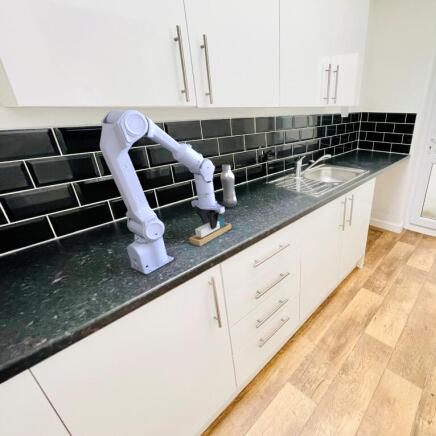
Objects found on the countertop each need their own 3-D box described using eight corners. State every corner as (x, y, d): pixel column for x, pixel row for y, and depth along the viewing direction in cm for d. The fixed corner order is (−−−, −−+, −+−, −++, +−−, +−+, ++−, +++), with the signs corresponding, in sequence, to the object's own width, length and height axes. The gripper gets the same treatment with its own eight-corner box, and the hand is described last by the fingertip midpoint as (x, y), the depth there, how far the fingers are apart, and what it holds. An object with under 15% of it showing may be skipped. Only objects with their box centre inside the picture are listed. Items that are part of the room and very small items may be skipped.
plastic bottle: (225, 209, 120) (219, 167, 112) (222, 205, 126) (217, 164, 117) (238, 207, 122) (234, 166, 114) (236, 203, 128) (231, 163, 120)
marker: (201, 238, 91) (200, 230, 90) (196, 236, 92) (194, 228, 91) (225, 225, 100) (224, 218, 99) (219, 223, 101) (219, 216, 100)
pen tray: (200, 246, 89) (199, 241, 88) (189, 242, 92) (189, 238, 91) (231, 228, 102) (231, 223, 101) (222, 225, 104) (221, 221, 104)
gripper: (229, 192, 90) (232, 227, 95) (199, 186, 96) (205, 219, 102) (214, 198, 84) (219, 234, 90) (184, 191, 91) (190, 226, 96)
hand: (210, 227), depth 95 cm, fingers closed on marker, 3 cm apart
